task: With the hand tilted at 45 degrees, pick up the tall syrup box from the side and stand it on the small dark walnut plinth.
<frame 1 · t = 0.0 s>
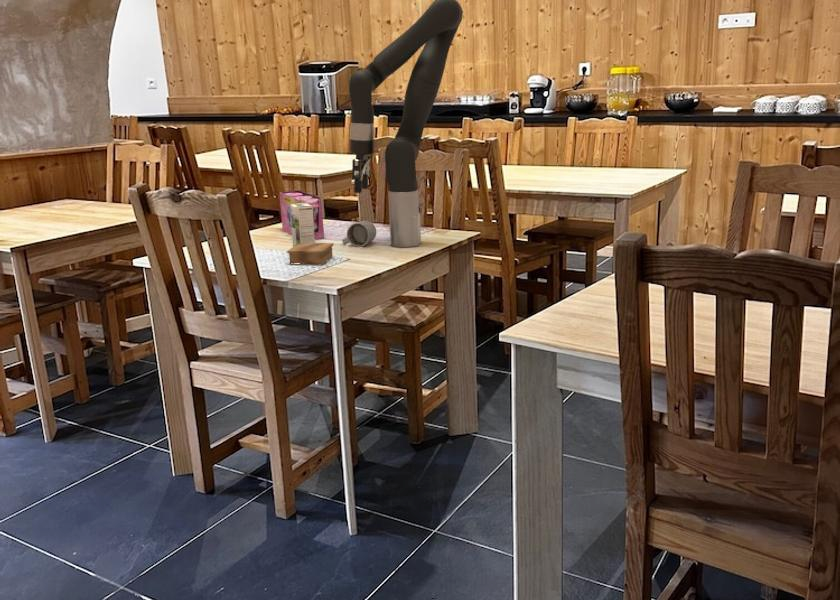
hand: (361, 190, 245), 17 cm above the table, tool pointing down, fingers open, 8 cm apart
ceramic mug: (358, 245, 250), on the table
syrup box: (304, 251, 243), on the table
gum box: (302, 234, 269), on the table
plinth: (311, 260, 231), on the table
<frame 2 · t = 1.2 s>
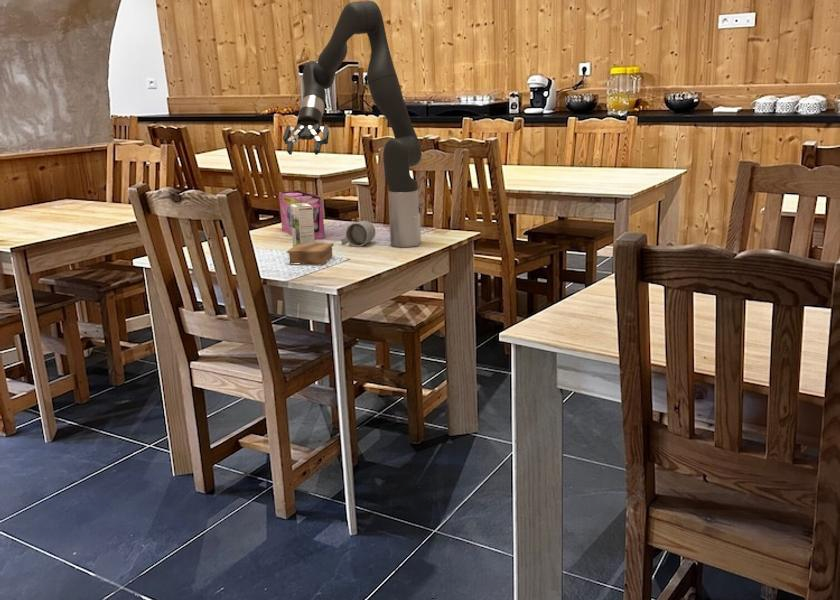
hand: (302, 153, 246), 29 cm above the table, tool tilted 45°, fingers open, 8 cm apart
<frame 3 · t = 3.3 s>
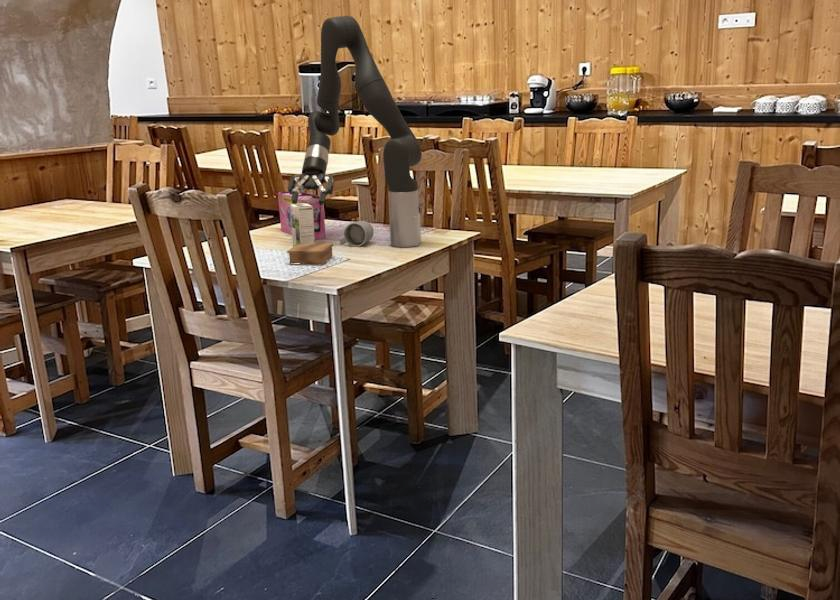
hand: (307, 203, 245), 14 cm above the table, tool tilted 45°, fingers open, 8 cm apart
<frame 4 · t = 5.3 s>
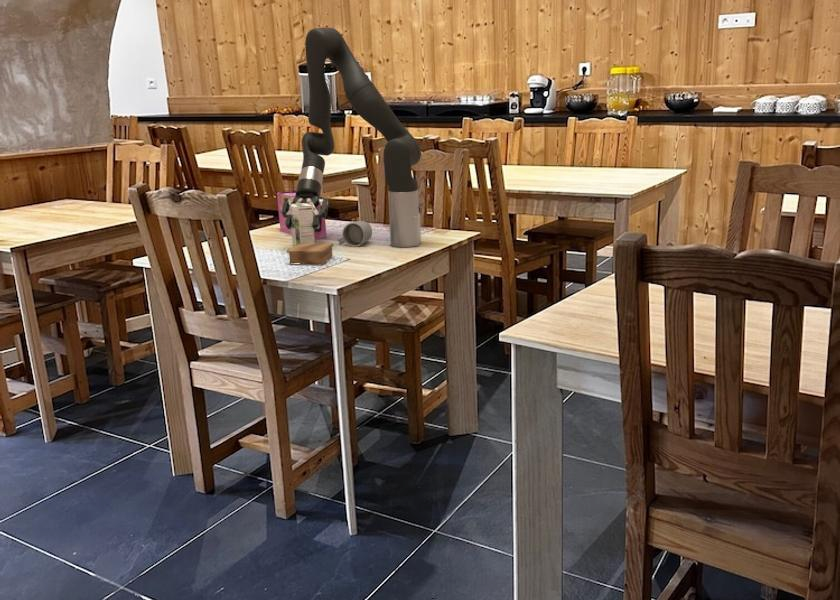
hand: (301, 227, 240), 8 cm above the table, tool tilted 45°, fingers closed on syrup box, 7 cm apart
syrup box: (304, 251, 243), on the table, touching gripper
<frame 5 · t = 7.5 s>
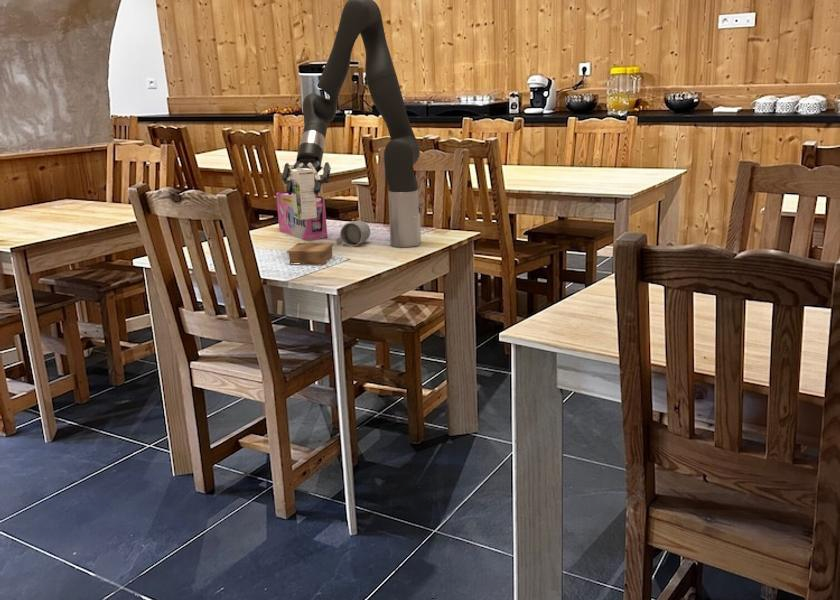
hand: (302, 193, 230), 19 cm above the table, tool tilted 45°, fingers closed on syrup box, 7 cm apart
syrup box: (306, 218, 234), point 11 cm above the table, touching gripper
when the fingers open (13 cm above the table, at t = 9.8 s): syrup box drops 1 cm, resting on plinth.
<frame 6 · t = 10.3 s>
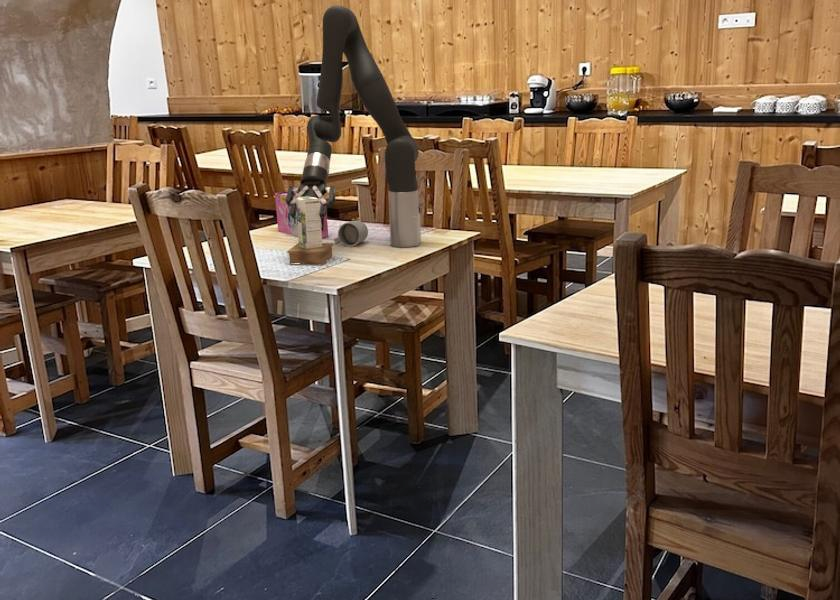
hand: (307, 217, 226), 13 cm above the table, tool tilted 45°, fingers open, 8 cm apart
syrup box: (311, 247, 230), point 4 cm above the table, touching plinth
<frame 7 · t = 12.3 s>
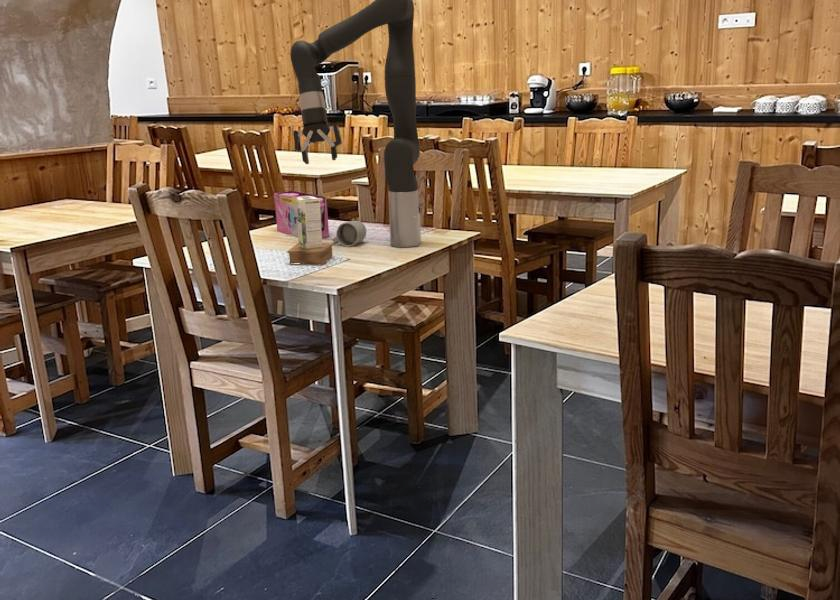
hand: (320, 162, 240), 27 cm above the table, tool pointing down, fingers open, 8 cm apart
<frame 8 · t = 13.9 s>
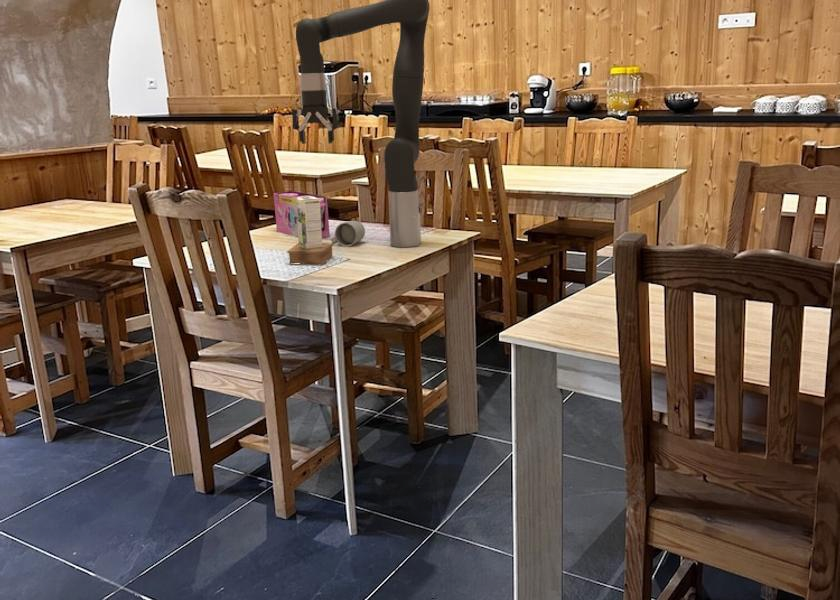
hand: (317, 143, 241), 32 cm above the table, tool pointing down, fingers open, 8 cm apart
at the end: syrup box inside the target area on the plinth (0.2 cm from its centre), point 3.8 cm above the plinth's base; syrup box tilted 0°; the gripper is holding nothing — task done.
